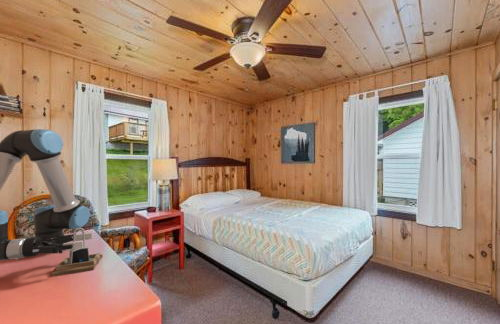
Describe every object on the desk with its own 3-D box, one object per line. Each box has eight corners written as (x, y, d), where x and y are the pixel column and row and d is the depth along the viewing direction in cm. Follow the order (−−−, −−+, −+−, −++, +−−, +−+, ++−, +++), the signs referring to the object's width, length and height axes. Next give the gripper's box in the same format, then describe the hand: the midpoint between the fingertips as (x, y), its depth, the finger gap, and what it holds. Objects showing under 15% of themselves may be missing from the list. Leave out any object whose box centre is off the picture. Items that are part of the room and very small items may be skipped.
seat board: (66, 262, 104) (66, 256, 104) (102, 256, 109) (102, 251, 109) (51, 276, 90) (51, 269, 90) (93, 269, 95) (93, 263, 95)
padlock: (86, 258, 103) (86, 225, 103) (90, 261, 100) (89, 226, 101) (68, 264, 98) (67, 228, 98) (71, 266, 95) (70, 230, 96)
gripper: (41, 247, 105) (95, 240, 112) (6, 269, 81) (78, 258, 89) (41, 230, 105) (95, 225, 112) (6, 247, 81) (77, 239, 89)
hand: (88, 239), depth 101 cm, fingers open, 13 cm apart
